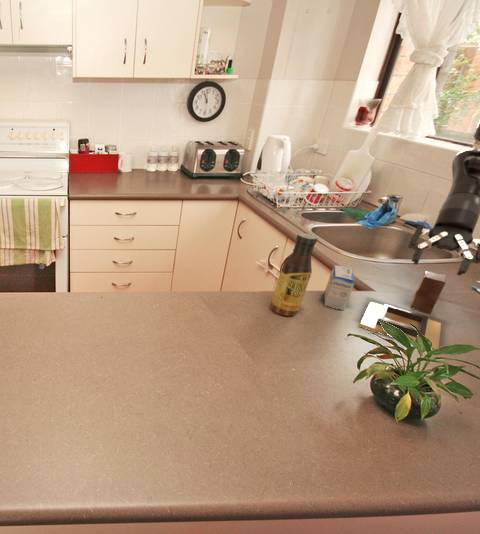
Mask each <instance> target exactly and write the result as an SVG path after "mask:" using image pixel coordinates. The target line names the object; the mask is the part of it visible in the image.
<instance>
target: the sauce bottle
mask: <svg viewBox="0 0 480 534" xmlns="http://www.w3.org/2000/svg"><path fill="white" fill-rule="evenodd" d="M295 240H296V242H295V245H294V247H293V250H292V253H290V254H289V255H288V256H287V257H286V258H285V259H284V261H283V264H282V267H281V269H280V271H279V276H278V279H277V281H276V285H275V287H274V291H273V294H272V298H271V303H270V309H271V311H273V312H274V313H275V314H278V315H280V316H283V317H294V316H296V314H297V313H298V311H299V310H300V308H301V305H302V301H303V299H304V296H305V293H306V291H307V288H308V284H309V282H310V280H311V276H312V273H313V271H312V256H313V251H314V248H315V245H316V244H317V242H318V236H316V235H314V234H311V233H308V232H307V233H306V232H298V233H297V236H296V237H295Z"/></svg>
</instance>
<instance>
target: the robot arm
mask: <svg viewBox="0 0 480 534" xmlns="http://www.w3.org/2000/svg"><path fill="white" fill-rule="evenodd" d="M473 140H475V141H476V142H479V143H480V121H479V122H478V124H477V127H476V129H475V131H474V134H473ZM451 177H452V179H451V180H452V181H451V187H450V189H449V192H448V194H447V197H446V198H445V200H444V202H443V204H442V205H441V208H440V210H439V212H438V215H437V218H436V220H435V222H434V225H433V227H432V228H431V229H429V228H425V227H424V226H423V225H420V224H419V225H418V226H417V227H416V229H415V231H414V233H413V235H412V236H411V239H410V241H409V243H408V245H407V248H408V249H412V250H414V253H413V255H412V257H411V262H412V263H413V265H418V263H419V262H420V260H421V257H422V254H423V251H424V252H425V251H426V250H429V249H432V248H433V247H435V248H436V249H439V250H446V251H447V252H455V253H456V254H457V256H458V257H460V259H461V260H462V261H461V262H460V264H459V268H458V270H457V272H456V275H457V276H460V277H461V276H462V275H465V274H466V273H467V271H468V270H469V268H470V265H471V264H473V263H474V264H477V265H478V264H480V238H474V237H473V233H474V230H475V228H476V226H477V223H478V221H479V218H480V149H473V148H467V149H463V150H461V151H460V152H458V153H457V154H456V155H454V158H453V159H452V162H451ZM426 235H427V236H428V238H427V239H426V240H425V241H423V242H420V243H418V240H419V238H422V237H424V236H426ZM469 245H473V247H474V248H475V249H476V252H475V255H473V254H472V252H471V250H470V248H469Z"/></svg>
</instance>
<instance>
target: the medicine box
mask: <svg viewBox="0 0 480 534" xmlns="http://www.w3.org/2000/svg"><path fill="white" fill-rule="evenodd" d="M355 283H356V281H355V275H354V269H353V268H350V267H346V266H341V265H336V264H335V265H333V267H332V270H331V273H330V275H329V278H328V281H327V284H326V286H325V290H324V292H323V306H324V305H326V306H330V307H334V308H337V309H336V310H338V309H341V310H340V311H345V308H346V306H347V304H348V301H349V299H350V297H351V294H352V291H353V288H354V285H355ZM326 306H325V307H326ZM330 307H329V308H330ZM334 308H333V309H334Z"/></svg>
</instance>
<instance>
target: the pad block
mask: <svg viewBox="0 0 480 534" xmlns="http://www.w3.org/2000/svg"><path fill="white" fill-rule="evenodd" d="M446 283H447V275H445V274H441V273H437V272H434V271H433V272H432V271H428V270H425V272H424V274H423V276H422V278H421V280H420V283H419V285H418V287H417V289H416V291H415V294H414V295H413V298H412V300H411V303H412V304H411V303H410V307H411V308H414V309H417V310H420V311H419V312H421V311H423V312H422V313H424V312H426V313H425V314H427V313H429V314H428V315H431V314H432V312H433V310H434V308H435V305H436V304H437V302H438V299H439V298H440V295H441V293H442V291H443V289H444V287H445V285H446ZM414 309H413V310H414ZM417 310H416V311H417Z"/></svg>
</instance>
